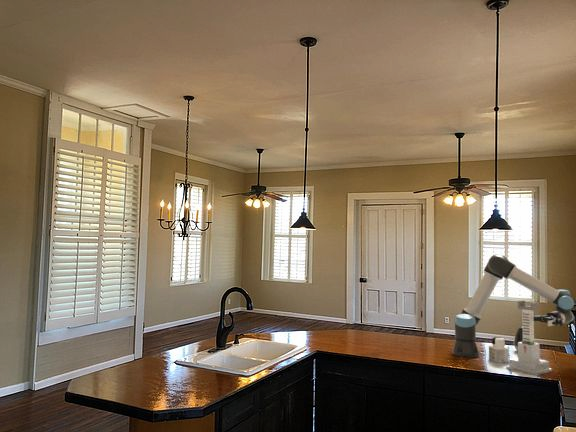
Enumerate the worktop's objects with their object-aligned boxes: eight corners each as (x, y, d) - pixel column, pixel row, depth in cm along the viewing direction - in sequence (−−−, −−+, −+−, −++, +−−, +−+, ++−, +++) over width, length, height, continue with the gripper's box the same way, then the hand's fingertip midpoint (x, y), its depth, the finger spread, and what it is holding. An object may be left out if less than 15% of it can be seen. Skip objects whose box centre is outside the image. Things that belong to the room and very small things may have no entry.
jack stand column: (519, 358, 246) (517, 301, 248) (523, 357, 249) (522, 300, 251) (534, 361, 240) (532, 302, 241) (538, 360, 243) (537, 302, 244)
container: (488, 358, 266) (488, 336, 267) (501, 358, 267) (501, 336, 268) (495, 362, 259) (495, 339, 259) (509, 362, 259) (508, 339, 260)
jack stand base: (506, 368, 246) (505, 339, 247) (522, 364, 255) (521, 336, 256) (536, 375, 233) (535, 345, 234) (552, 370, 242) (551, 341, 243)
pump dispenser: (528, 349, 290) (527, 325, 291) (535, 353, 280) (534, 328, 281) (511, 349, 291) (510, 325, 292) (517, 353, 281) (517, 328, 282)
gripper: (578, 328, 251) (559, 332, 239) (533, 321, 272) (513, 325, 260) (578, 314, 251) (559, 318, 239) (532, 309, 272) (513, 311, 260)
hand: (535, 321), depth 249 cm, fingers open, 13 cm apart
